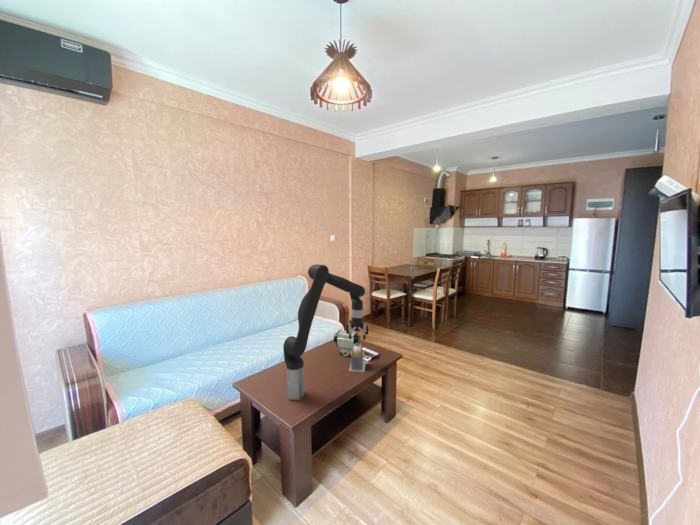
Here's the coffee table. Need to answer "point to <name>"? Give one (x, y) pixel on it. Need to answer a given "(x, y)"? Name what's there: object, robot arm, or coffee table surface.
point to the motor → (357, 361)
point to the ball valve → (346, 341)
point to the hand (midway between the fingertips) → (357, 339)
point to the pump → (357, 347)
